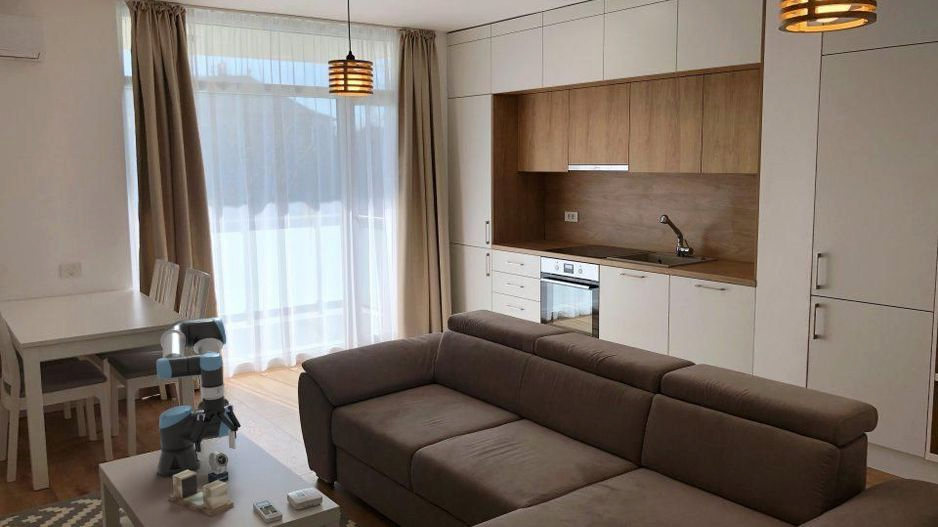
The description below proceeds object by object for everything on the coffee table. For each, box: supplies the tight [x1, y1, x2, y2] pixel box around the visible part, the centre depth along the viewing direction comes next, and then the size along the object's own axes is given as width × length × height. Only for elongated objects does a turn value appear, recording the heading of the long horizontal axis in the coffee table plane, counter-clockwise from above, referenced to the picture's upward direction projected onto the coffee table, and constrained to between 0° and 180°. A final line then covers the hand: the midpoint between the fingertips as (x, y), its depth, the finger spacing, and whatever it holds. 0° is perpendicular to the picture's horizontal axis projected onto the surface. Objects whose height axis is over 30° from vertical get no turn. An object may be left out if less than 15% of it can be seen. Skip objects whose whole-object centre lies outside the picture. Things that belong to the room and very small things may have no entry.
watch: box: [207, 450, 229, 484], centre depth 282 cm, size 6×8×11 cm
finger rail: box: [168, 470, 235, 517], centre depth 264 cm, size 23×9×8 cm, turn 55°
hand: (217, 454), depth 281 cm, fingers open, 13 cm apart
